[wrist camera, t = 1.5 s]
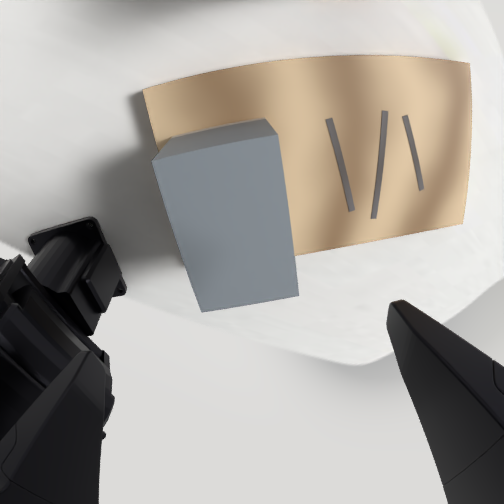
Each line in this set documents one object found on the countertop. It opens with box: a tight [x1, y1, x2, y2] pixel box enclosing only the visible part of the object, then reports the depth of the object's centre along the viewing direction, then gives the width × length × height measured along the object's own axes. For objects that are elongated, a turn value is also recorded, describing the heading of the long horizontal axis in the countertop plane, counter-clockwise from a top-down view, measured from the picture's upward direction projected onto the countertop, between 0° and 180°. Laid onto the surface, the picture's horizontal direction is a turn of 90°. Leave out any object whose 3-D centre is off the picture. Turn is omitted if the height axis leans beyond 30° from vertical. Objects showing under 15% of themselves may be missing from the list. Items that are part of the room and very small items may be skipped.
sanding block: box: [151, 117, 299, 312], centre depth 16 cm, size 5×8×5 cm, turn 10°
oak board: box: [143, 55, 472, 256], centre depth 18 cm, size 20×12×1 cm, turn 100°
